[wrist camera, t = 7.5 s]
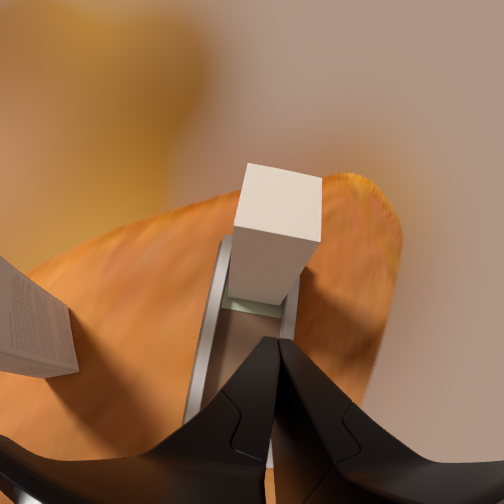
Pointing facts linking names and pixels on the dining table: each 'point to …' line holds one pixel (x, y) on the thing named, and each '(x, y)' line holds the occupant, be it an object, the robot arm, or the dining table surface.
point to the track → (233, 334)
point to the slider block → (273, 233)
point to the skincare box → (33, 328)
